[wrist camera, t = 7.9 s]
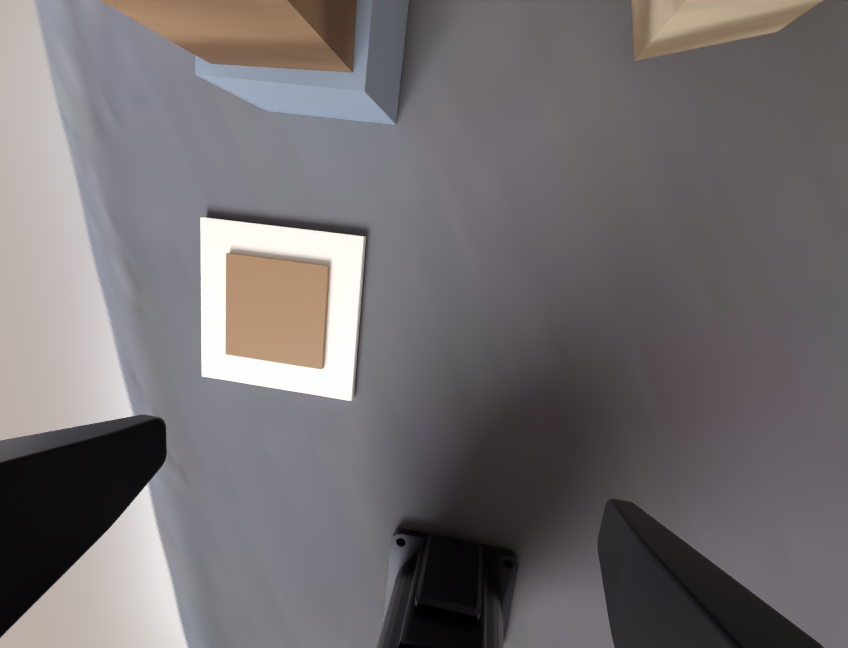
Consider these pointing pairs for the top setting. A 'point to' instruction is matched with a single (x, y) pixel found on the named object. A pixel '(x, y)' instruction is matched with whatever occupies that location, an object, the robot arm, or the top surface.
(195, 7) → the walnut block
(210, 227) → the swatch
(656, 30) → the maple block
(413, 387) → the top surface
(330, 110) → the base block
